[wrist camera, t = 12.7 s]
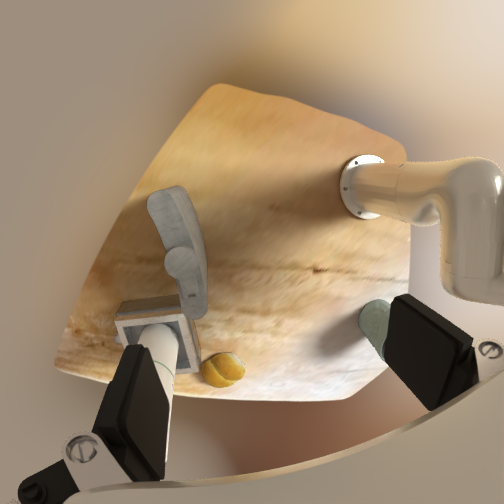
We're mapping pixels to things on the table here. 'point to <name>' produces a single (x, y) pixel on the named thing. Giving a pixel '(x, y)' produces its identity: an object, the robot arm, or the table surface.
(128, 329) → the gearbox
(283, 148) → the table surface
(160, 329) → the cylindrical container
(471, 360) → the robot arm
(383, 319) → the green cup
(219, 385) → the bread roll
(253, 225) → the table surface
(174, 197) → the hip flask
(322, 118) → the table surface
